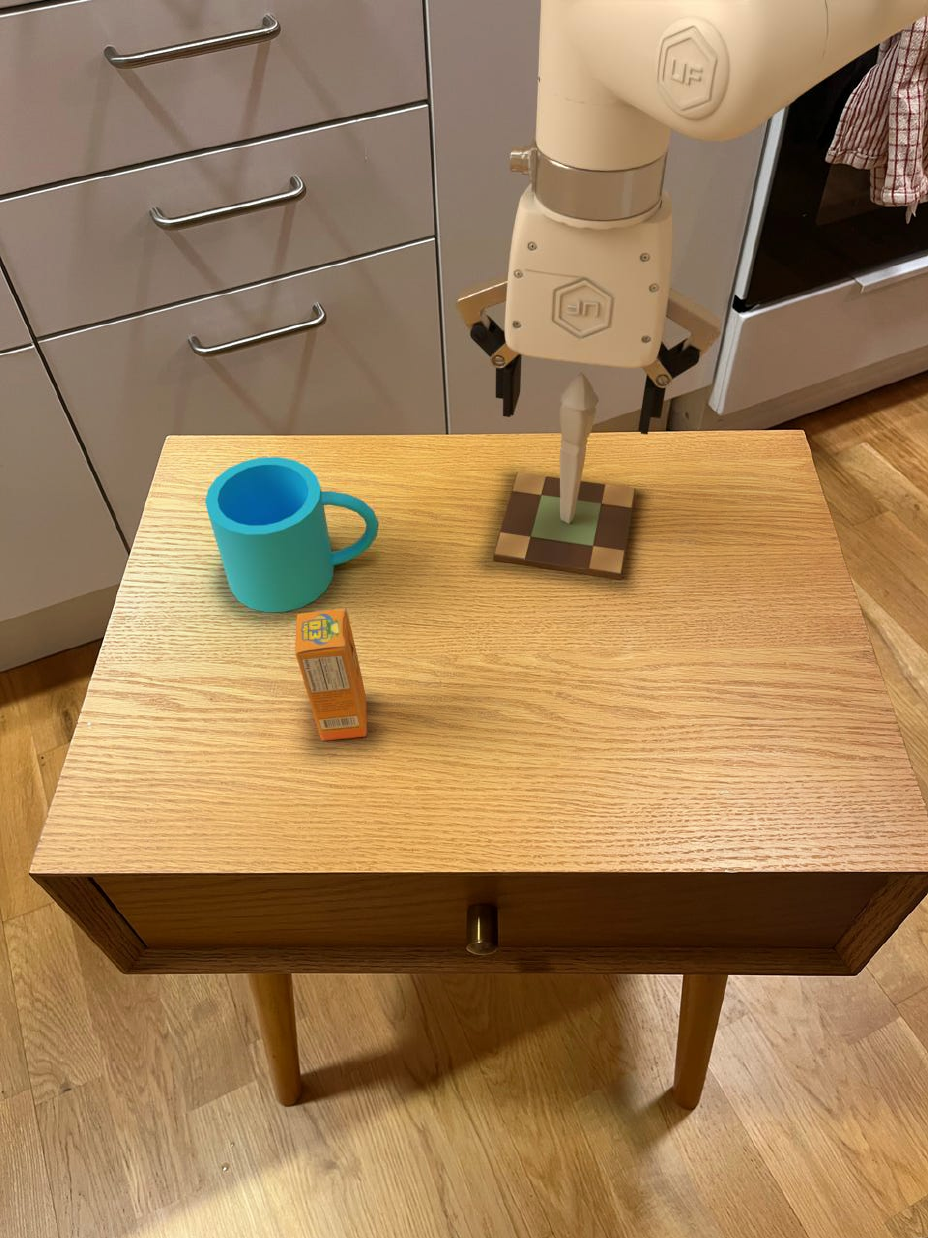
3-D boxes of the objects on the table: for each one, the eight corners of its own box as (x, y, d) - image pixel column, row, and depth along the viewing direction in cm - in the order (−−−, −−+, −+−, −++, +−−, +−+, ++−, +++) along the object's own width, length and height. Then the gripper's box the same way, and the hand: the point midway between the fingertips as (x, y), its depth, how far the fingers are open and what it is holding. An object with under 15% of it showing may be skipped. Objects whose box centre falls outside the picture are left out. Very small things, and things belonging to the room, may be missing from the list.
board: (634, 493, 80) (636, 487, 79) (620, 580, 74) (621, 573, 73) (516, 476, 81) (516, 470, 81) (492, 560, 75) (492, 554, 75)
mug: (228, 619, 72) (204, 541, 65) (228, 542, 77) (205, 463, 71) (388, 598, 73) (379, 520, 66) (377, 524, 78) (368, 445, 72)
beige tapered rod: (561, 505, 78) (574, 357, 67) (590, 517, 77) (607, 370, 66) (545, 523, 77) (555, 375, 66) (574, 536, 76) (589, 388, 65)
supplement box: (316, 703, 66) (295, 608, 59) (366, 699, 67) (351, 604, 59) (316, 744, 64) (293, 650, 57) (367, 739, 64) (352, 646, 57)
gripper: (439, 191, 55) (448, 430, 68) (748, 219, 52) (696, 463, 65) (467, 135, 60) (471, 369, 73) (752, 158, 57) (703, 397, 70)
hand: (577, 413), depth 69 cm, fingers open, 9 cm apart
